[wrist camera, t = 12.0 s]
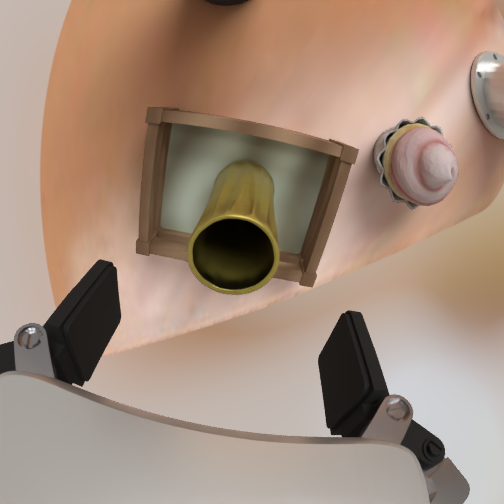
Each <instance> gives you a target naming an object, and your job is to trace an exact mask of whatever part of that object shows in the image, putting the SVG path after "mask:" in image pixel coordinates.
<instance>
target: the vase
mask: <svg viewBox="0 0 504 504" xmlns="http://www.w3.org/2000/svg"><path fill="white" fill-rule="evenodd" d="M277 236H278V235H277V228H276V221H275V214H274V182H273V179H272V177H271V175H270V174H269V172H268V171H267V170H266V169H265V168H264V167H263V166H261V165H259V164H257V163H255V162H252V161H237V162H233V163H231V164H229V165H227V166H226V167H225V168H223V169H222V170H221V171H220V173H219V174H218V176H217V178H216V180H215V183H214V189H213V192H212V194H211V197H210V200H209V202H208V204H207V206H206V208H205V210H204V212H203V213H202V215H201V217H200V219H199V221H198V223H197V225H196V227H195V229H194V231H193V233H192V235H191V237H190V239H189V242H188V262H189V266H190V268H191V270H192V272H193V274H194V275H195V276H196V278H197V279H198V280H199V281H200V282H201V283H202V284H204V285H205V286H207V287H209V288H210V289H212V290H214V291H217V292H220V293H223V294H232V295H239V294H246V293H250V292H253V291H255V290H258V289H259V288H261V287H263V286H264V285H265V284H267V283H268V282H269V281H270V280H271V278H272V277H273V276H274V274H275V272H276V271H277V268H278V266H279V244H278V241H277Z"/></svg>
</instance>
